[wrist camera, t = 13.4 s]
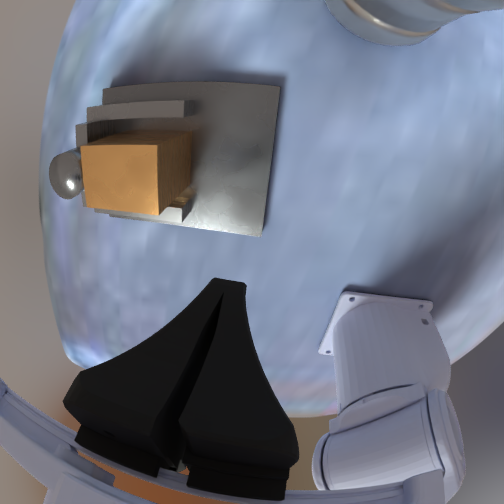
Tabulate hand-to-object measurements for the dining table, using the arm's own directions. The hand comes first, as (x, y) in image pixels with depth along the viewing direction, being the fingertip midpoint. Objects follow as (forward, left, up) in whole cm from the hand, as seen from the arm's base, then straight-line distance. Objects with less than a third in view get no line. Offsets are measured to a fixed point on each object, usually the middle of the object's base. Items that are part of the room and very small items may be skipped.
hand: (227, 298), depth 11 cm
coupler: (+6, -4, -9) cm, 11 cm away
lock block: (+7, -4, -8) cm, 11 cm away
